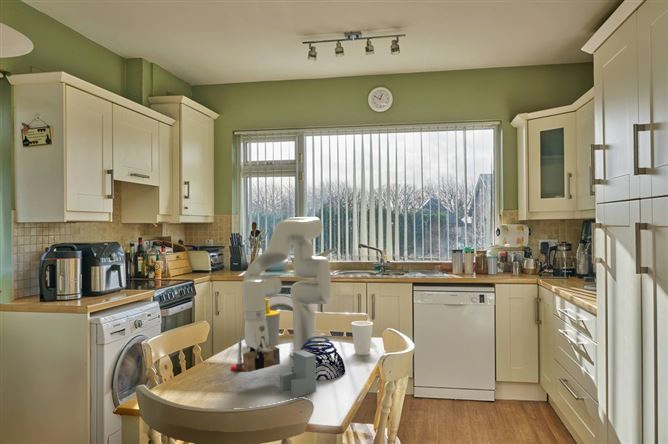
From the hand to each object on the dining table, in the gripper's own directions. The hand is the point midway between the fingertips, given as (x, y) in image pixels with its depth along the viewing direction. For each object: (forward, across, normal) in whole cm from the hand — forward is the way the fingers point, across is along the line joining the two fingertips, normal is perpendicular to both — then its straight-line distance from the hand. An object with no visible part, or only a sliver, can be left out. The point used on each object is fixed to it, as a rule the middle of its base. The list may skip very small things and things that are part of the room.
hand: (256, 366), depth 157 cm
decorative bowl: (+8, -2, -25) cm, 26 cm away
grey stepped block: (+7, -14, -8) cm, 17 cm away
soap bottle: (+9, +48, -30) cm, 57 cm away
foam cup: (+9, +7, -55) cm, 56 cm away
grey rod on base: (+8, +21, -5) cm, 23 cm away
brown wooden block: (+1, 0, -2) cm, 2 cm away
